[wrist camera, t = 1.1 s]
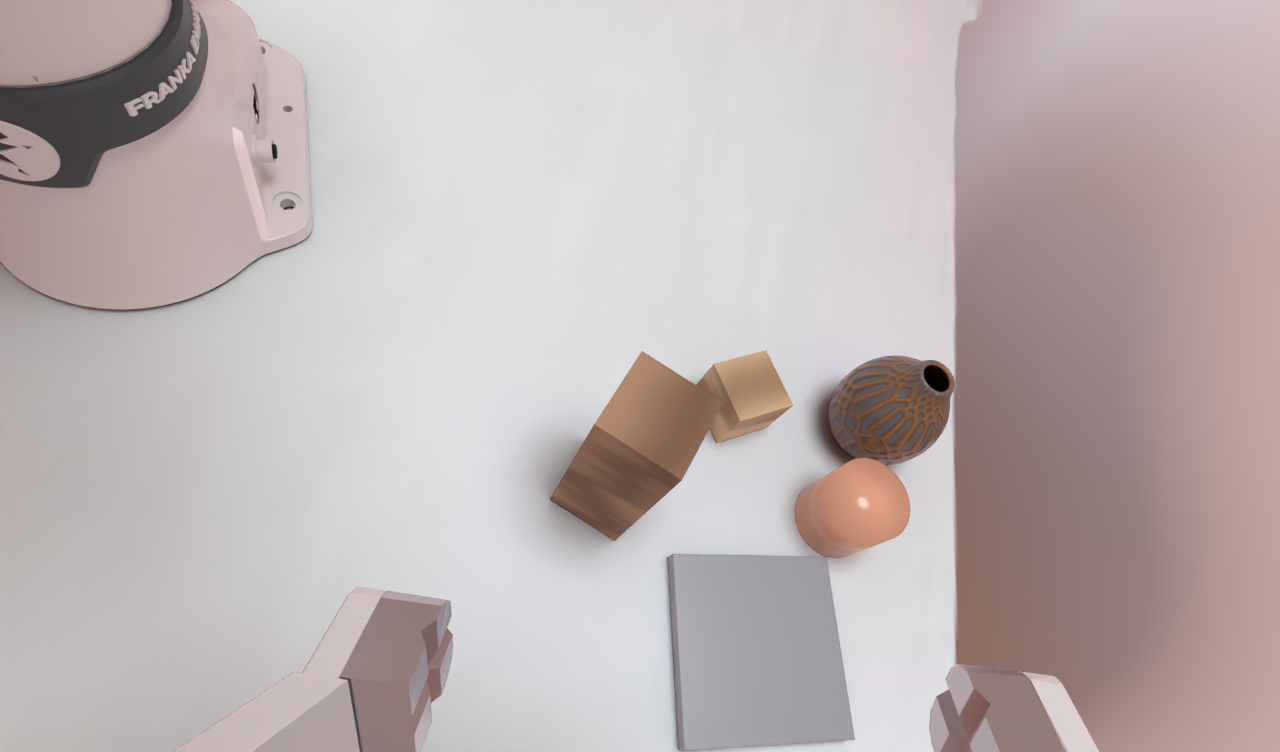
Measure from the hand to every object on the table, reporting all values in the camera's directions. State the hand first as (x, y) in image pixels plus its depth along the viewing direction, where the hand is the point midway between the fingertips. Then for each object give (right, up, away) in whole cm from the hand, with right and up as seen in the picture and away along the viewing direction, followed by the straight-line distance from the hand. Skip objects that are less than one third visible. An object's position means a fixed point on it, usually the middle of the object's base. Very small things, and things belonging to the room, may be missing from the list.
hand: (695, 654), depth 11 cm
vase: (+14, +1, +37) cm, 40 cm away
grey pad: (+6, -11, +28) cm, 31 cm away
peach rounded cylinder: (+12, -5, +33) cm, 36 cm away
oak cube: (+5, +2, +35) cm, 35 cm away
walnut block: (-3, -2, +30) cm, 30 cm away
